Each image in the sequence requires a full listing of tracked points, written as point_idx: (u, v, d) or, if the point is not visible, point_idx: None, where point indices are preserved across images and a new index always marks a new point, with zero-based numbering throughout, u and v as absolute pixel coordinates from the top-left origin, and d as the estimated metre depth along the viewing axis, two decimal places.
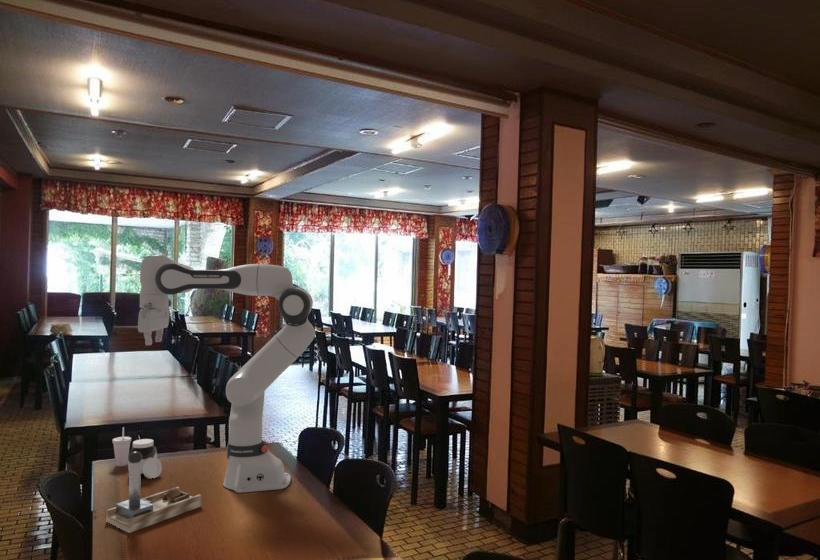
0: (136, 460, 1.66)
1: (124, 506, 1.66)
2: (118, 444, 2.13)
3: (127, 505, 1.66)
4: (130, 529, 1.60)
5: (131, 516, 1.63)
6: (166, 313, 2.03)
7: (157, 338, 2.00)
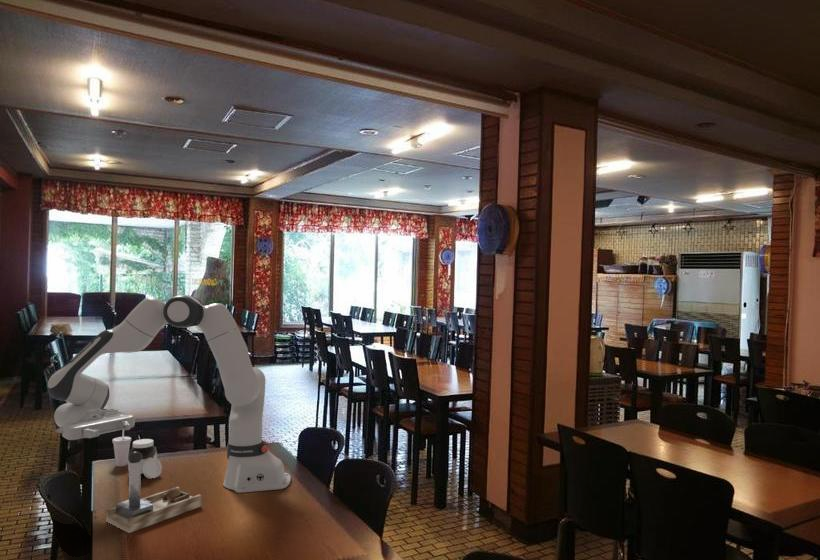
0: (136, 460, 1.66)
1: (124, 506, 1.66)
2: (118, 444, 2.13)
3: (127, 505, 1.66)
4: (130, 529, 1.60)
5: (131, 516, 1.63)
6: (119, 415, 1.86)
7: (123, 427, 1.78)
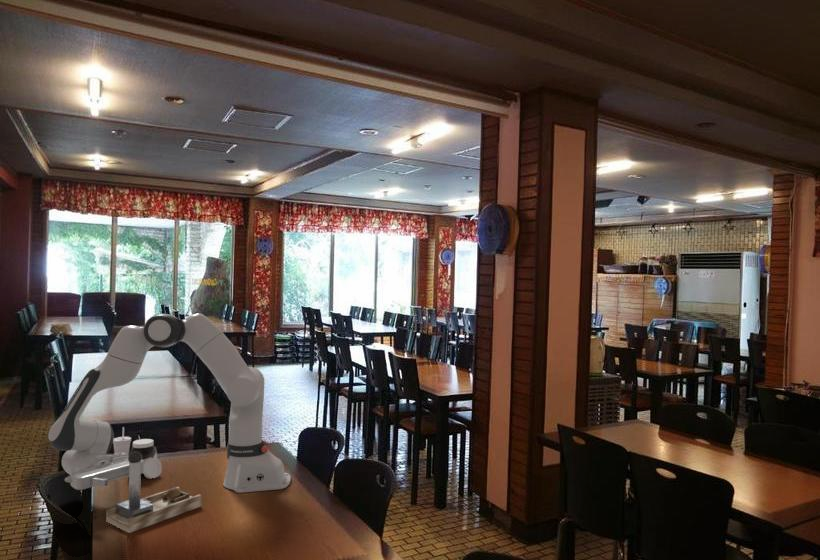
0: (136, 460, 1.66)
1: (124, 506, 1.66)
2: (118, 444, 2.13)
3: (127, 505, 1.66)
4: (130, 529, 1.60)
5: (131, 516, 1.63)
6: (127, 459, 1.83)
7: None
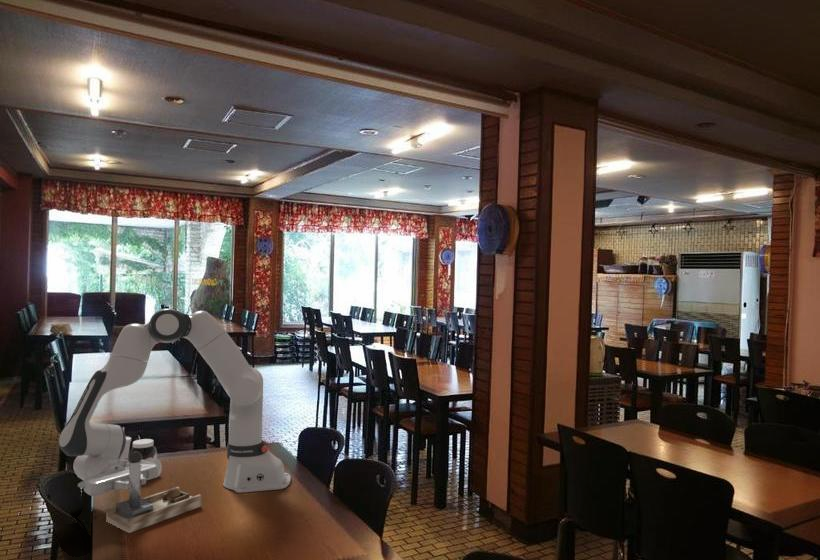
0: (136, 460, 1.66)
1: (124, 506, 1.66)
2: None
3: (127, 505, 1.66)
4: (130, 529, 1.60)
5: (131, 516, 1.63)
6: (141, 464, 1.78)
7: None
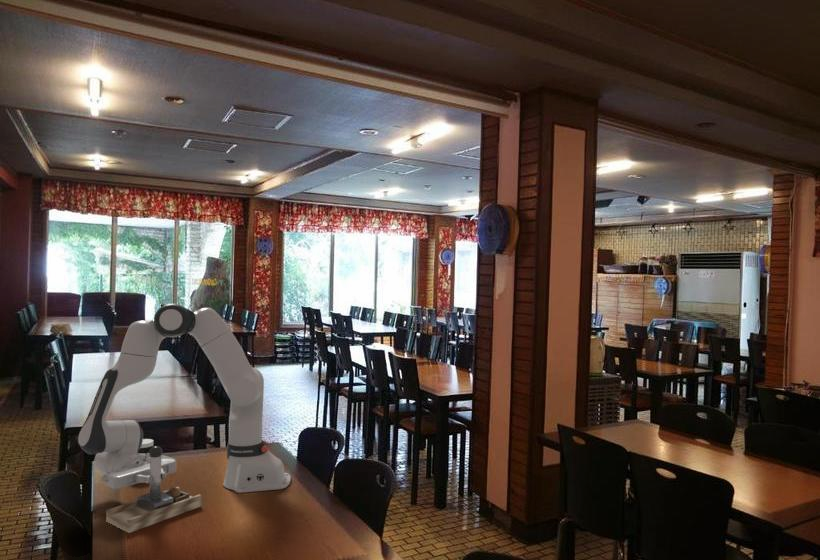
0: (157, 454, 1.71)
1: (145, 499, 1.71)
2: None
3: (148, 498, 1.72)
4: (130, 529, 1.60)
5: (152, 509, 1.68)
6: (161, 459, 1.84)
7: None
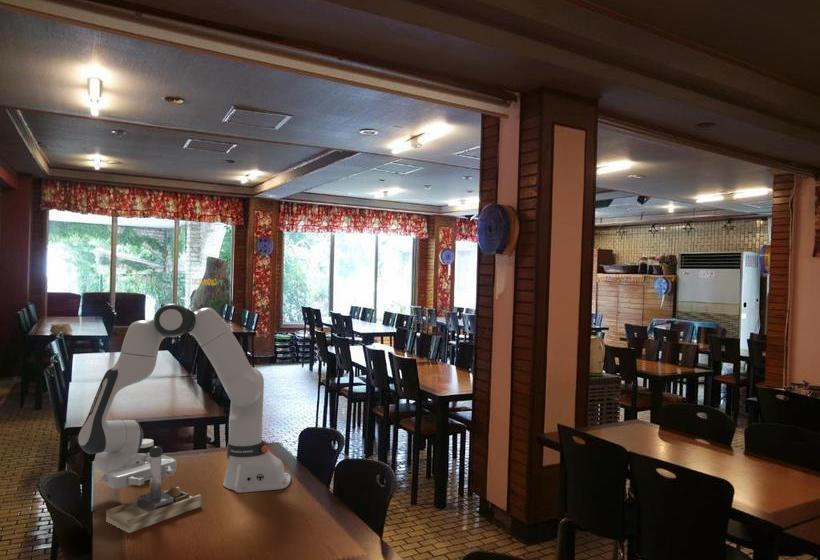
0: (157, 454, 1.71)
1: (146, 499, 1.71)
2: None
3: (148, 498, 1.72)
4: (130, 529, 1.60)
5: (152, 509, 1.68)
6: (161, 459, 1.84)
7: (167, 473, 1.76)
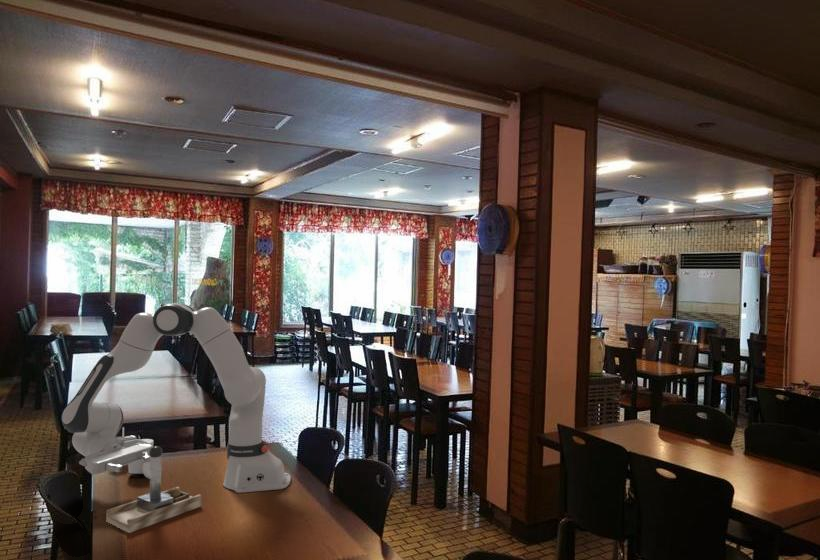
0: (157, 454, 1.71)
1: (146, 499, 1.71)
2: None
3: (148, 498, 1.72)
4: (130, 529, 1.60)
5: (152, 509, 1.68)
6: (138, 443, 1.90)
7: (144, 459, 1.84)
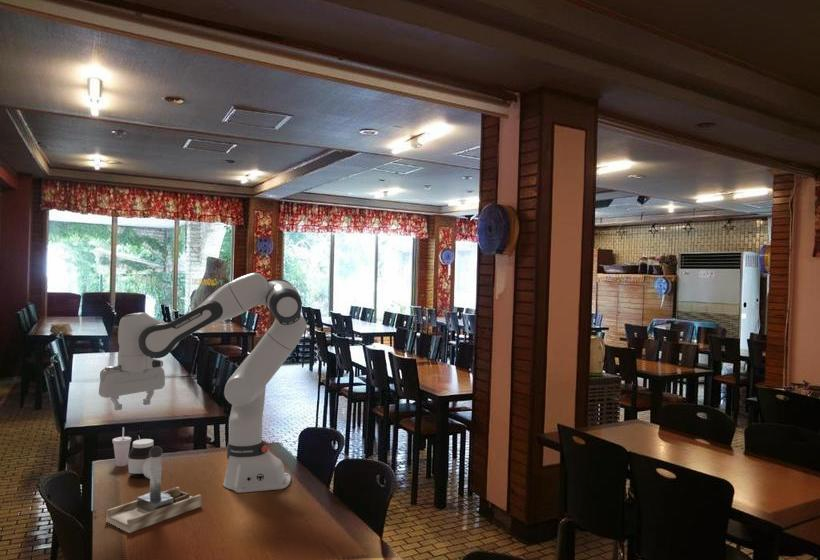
0: (157, 454, 1.71)
1: (146, 499, 1.71)
2: (118, 444, 2.13)
3: (148, 498, 1.72)
4: (130, 529, 1.60)
5: (152, 509, 1.68)
6: (157, 374, 1.89)
7: (144, 401, 1.87)
